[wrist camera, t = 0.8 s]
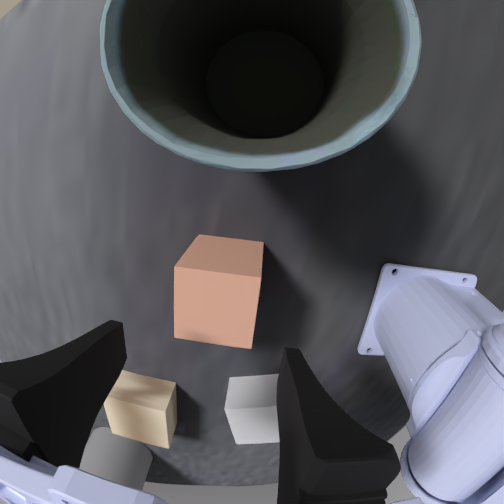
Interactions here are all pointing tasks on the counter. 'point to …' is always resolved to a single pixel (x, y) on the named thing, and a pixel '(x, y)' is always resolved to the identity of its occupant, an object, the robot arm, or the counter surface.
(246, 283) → the terracotta block
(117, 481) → the cup
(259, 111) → the teal round container
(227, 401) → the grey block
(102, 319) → the counter surface
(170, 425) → the oak base block
